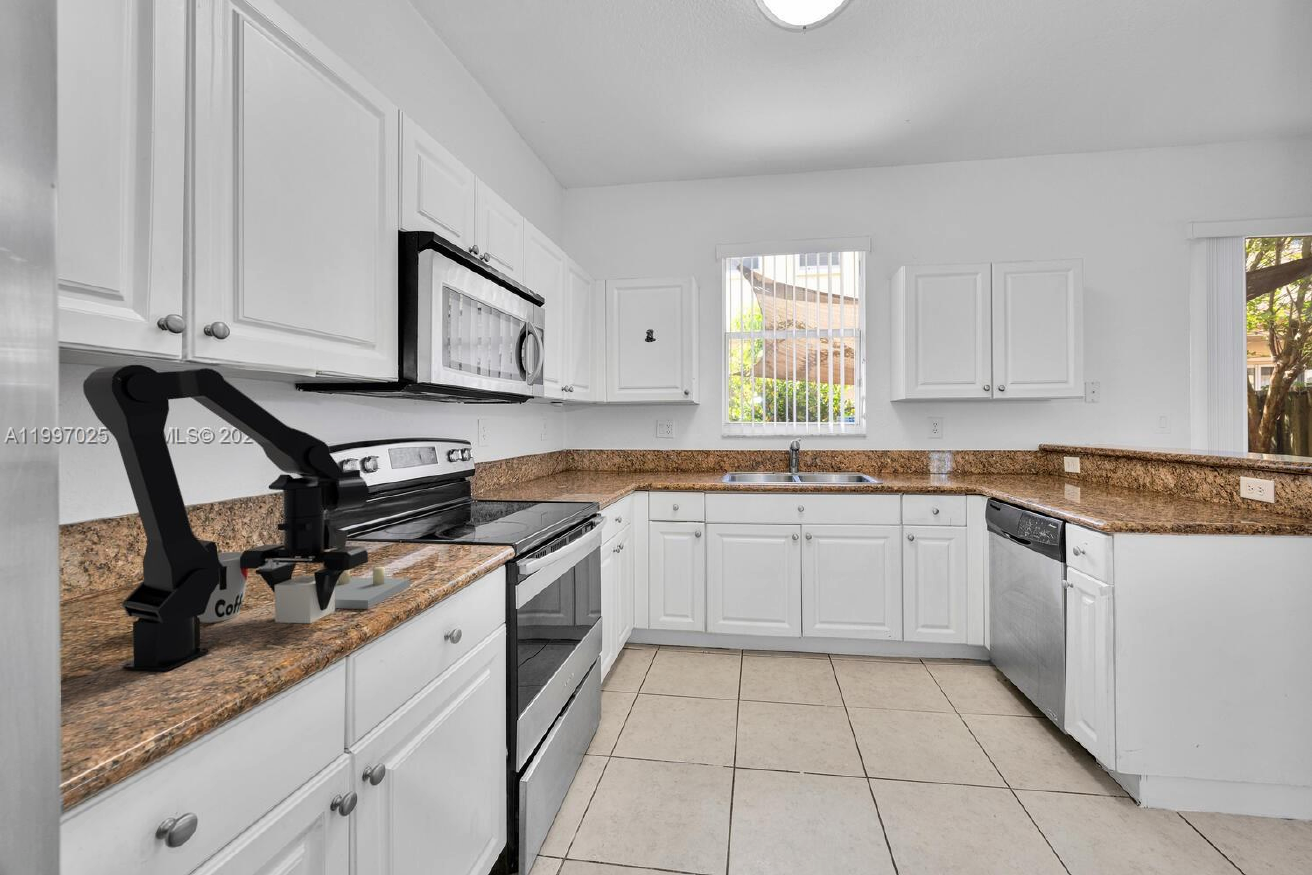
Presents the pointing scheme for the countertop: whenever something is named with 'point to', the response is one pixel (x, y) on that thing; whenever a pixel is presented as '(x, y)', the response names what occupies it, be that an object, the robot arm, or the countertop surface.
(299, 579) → the block
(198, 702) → the countertop surface
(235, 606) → the cup
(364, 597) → the plate
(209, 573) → the robot arm
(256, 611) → the countertop surface
